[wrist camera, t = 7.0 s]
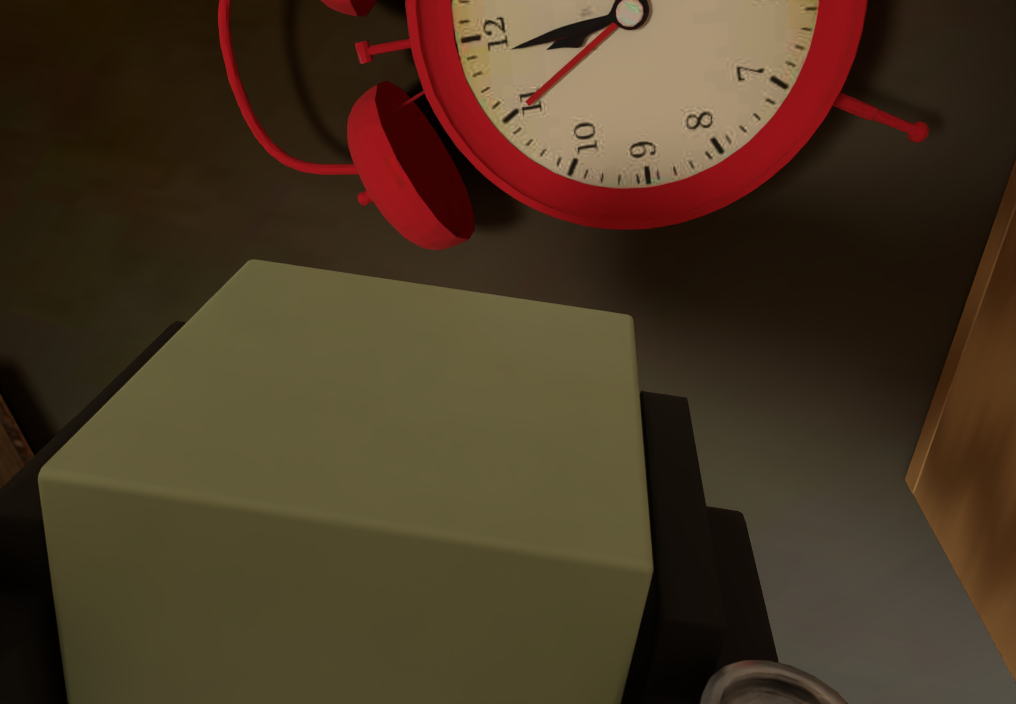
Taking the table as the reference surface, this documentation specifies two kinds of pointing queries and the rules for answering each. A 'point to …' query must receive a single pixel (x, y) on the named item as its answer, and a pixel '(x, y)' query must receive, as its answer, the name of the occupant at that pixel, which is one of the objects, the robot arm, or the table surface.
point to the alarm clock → (592, 106)
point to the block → (358, 503)
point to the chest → (978, 440)
